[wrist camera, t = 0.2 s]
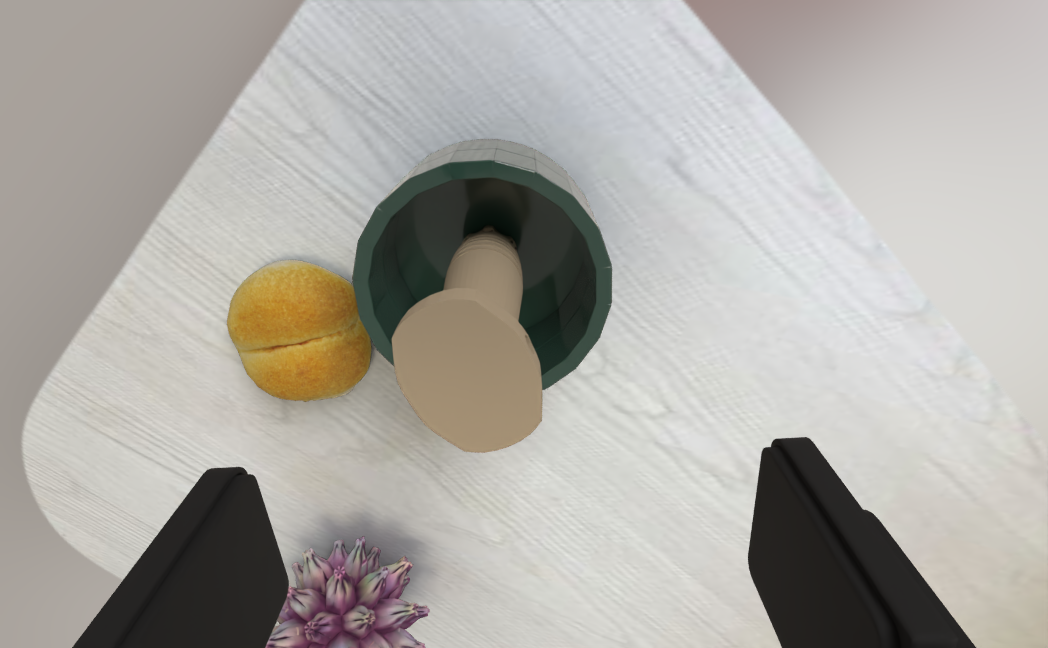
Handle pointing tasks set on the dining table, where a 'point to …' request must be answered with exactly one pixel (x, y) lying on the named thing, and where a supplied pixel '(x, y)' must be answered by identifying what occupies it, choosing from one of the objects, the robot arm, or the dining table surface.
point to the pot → (514, 210)
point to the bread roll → (299, 331)
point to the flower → (347, 603)
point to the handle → (472, 351)
